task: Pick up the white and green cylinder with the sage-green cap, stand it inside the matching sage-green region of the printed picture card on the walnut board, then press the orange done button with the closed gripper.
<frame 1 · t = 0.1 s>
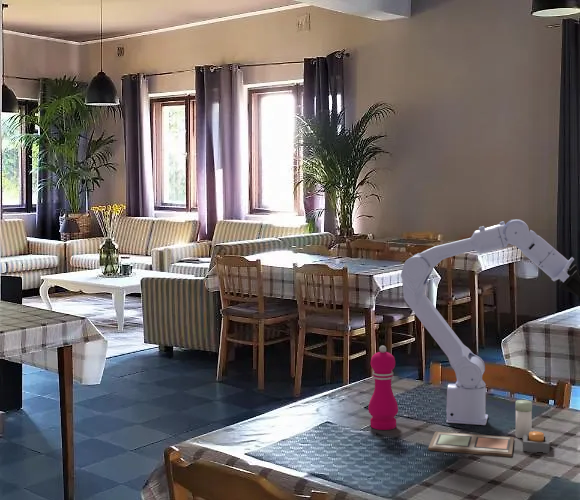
white and green cylinder: (523, 436, 199), on the table
pepper mill: (383, 427, 209), on the table
picture board: (471, 444, 194), on the table
button housing: (536, 448, 191), on the table
done button: (536, 437, 190), point 2 cm above the table, slide at 0.0 cm
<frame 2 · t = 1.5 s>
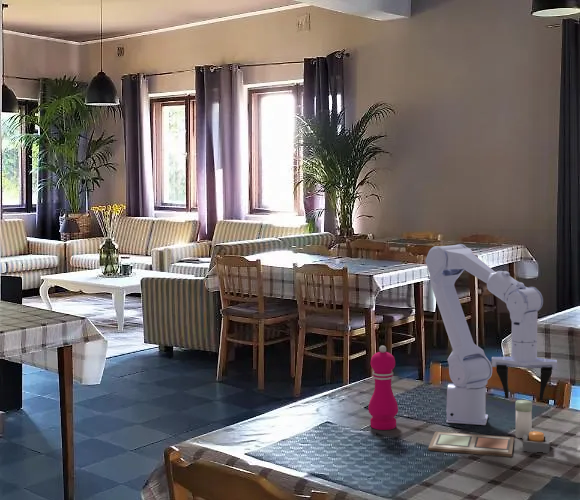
hand: (523, 398, 198), 9 cm above the table, tool pointing down, fingers open, 7 cm apart
nothing on the table moved.
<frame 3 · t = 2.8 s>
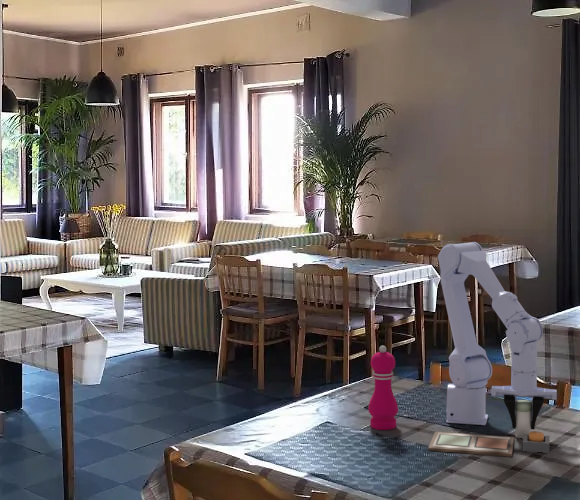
hand: (523, 427, 199), 2 cm above the table, tool pointing down, fingers closed on white and green cylinder, 4 cm apart
white and green cylinder: (523, 436, 199), on the table, touching gripper
everything else where it was.
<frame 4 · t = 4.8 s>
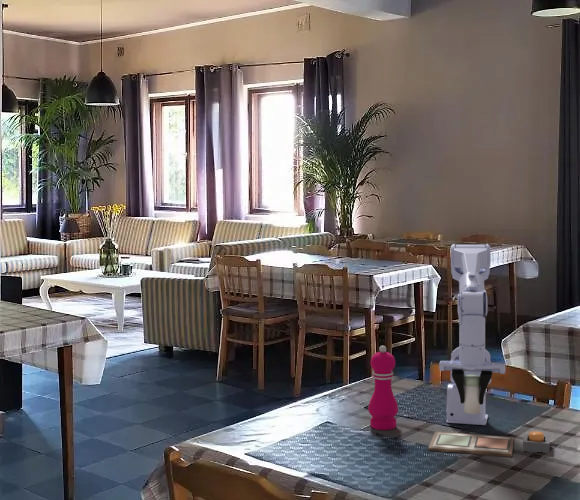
hand: (472, 402, 195), 9 cm above the table, tool pointing down, fingers closed on white and green cylinder, 4 cm apart
white and green cylinder: (472, 411, 195), point 7 cm above the table, touching gripper
everything else where it was.
when the fingers open (4 cm above the table, at t = 6.8 s): white and green cylinder stays where it is, resting on picture board.
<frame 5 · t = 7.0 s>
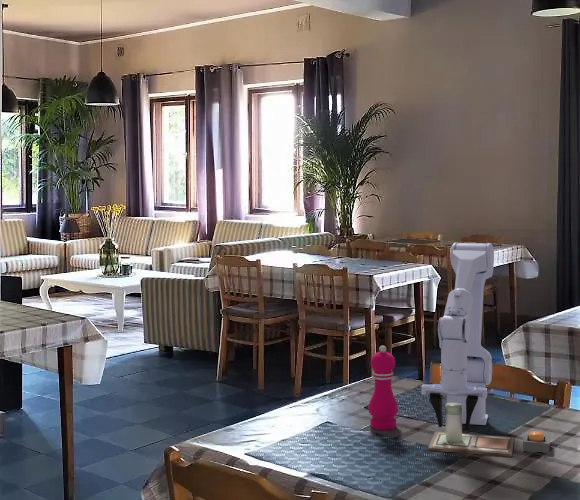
hand: (454, 426, 195), 4 cm above the table, tool pointing down, fingers open, 5 cm apart
white and green cylinder: (453, 440, 195), point 1 cm above the table, touching picture board
everything else where it was.
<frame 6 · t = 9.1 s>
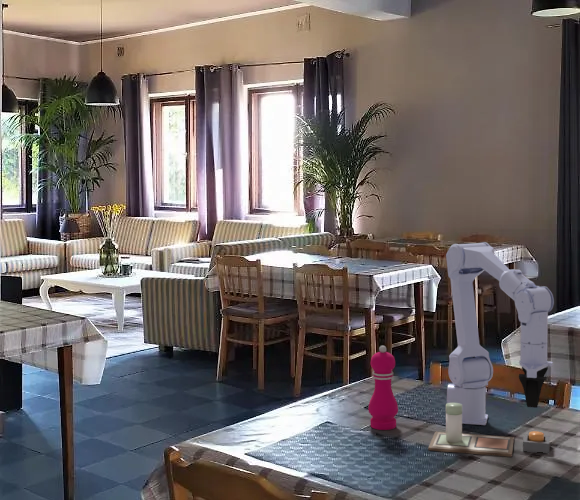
hand: (533, 402, 190), 10 cm above the table, tool pointing down, fingers open, 7 cm apart
nothing on the table moved.
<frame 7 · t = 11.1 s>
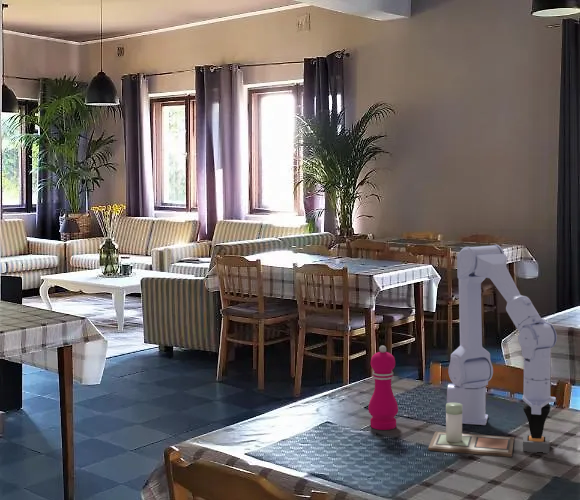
hand: (536, 437, 190), 3 cm above the table, tool pointing down, fingers closed, pressing on done button
done button: (536, 441, 191), point 2 cm above the table, slide at 0.9 cm, touching gripper
everything else where it was.
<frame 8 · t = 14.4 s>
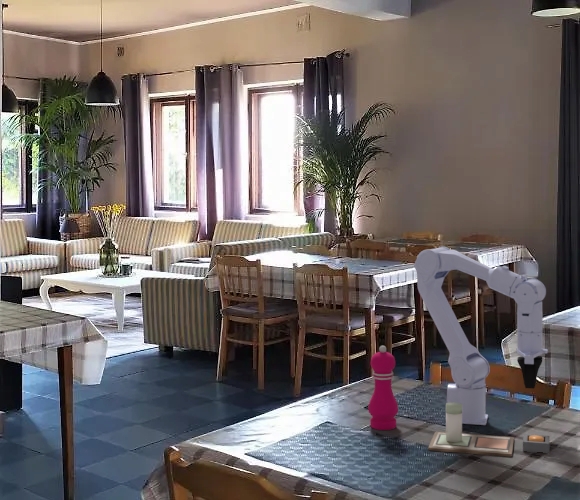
hand: (529, 387, 203), 10 cm above the table, tool pointing down, fingers closed
done button: (536, 441, 191), point 2 cm above the table, slide at 0.9 cm
everything else where it was.
at the end: white and green cylinder 0.0 cm from the target spot on the picture board, point 0.8 cm above the picture board's base; white and green cylinder tilted 2°; done button slide at 0.9 cm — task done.
